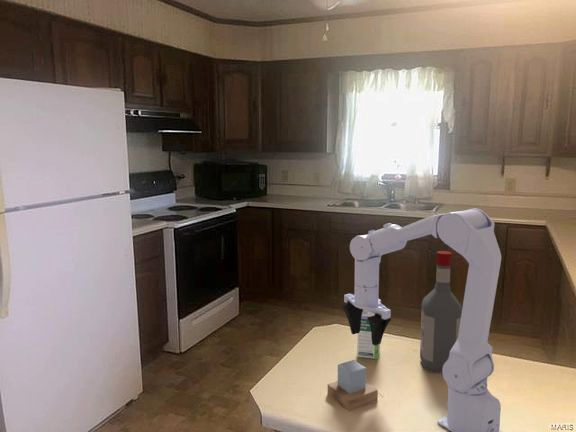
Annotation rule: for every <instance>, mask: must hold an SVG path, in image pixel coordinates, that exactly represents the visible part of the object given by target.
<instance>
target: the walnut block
mask: <svg viewBox="0 0 576 432" xmlns="http://www.w3.org/2000/svg"><path fill="white" fill-rule="evenodd" d="M378 392H379V391H378V389H377V388H375V387H374V386H372V385H371V384H369V383H367V382H366V389H363V390H360V391H357V392H354V393H351V394H349V393H348V392H346V391H345V390H343V389H342V388H341V387H339V386H338V380H337V381H334V382H333V381H332V382H330V383H327V395H328V396H329V397H330V398H331V399H333V400H334V401H335V402H337V403H338V404H339V405H341V406H342V407H343V408H345V409H346V410H347V411H348V412H351V411H354V410H357V409H359V408H362V407H364V406H368V405H369V404H372V403H376V402H378V397H379V394H378Z"/></svg>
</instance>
